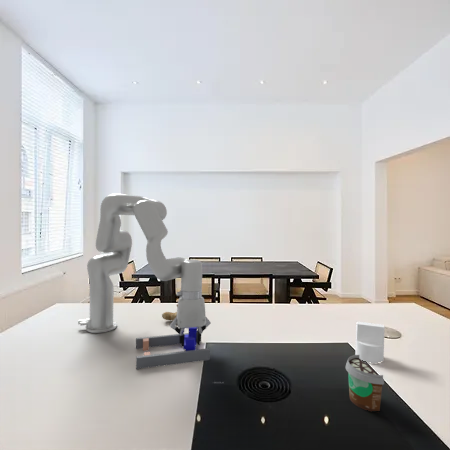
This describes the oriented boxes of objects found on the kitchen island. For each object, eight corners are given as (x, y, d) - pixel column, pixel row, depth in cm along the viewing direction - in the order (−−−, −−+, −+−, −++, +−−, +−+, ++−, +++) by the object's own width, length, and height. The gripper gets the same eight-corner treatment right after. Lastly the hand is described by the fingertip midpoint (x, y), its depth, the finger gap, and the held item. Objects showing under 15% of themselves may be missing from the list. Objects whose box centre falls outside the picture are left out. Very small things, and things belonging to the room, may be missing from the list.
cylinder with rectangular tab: (381, 354, 109) (382, 321, 109) (385, 366, 101) (386, 330, 100) (354, 350, 112) (355, 318, 112) (356, 361, 104) (357, 326, 103)
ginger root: (208, 316, 144) (205, 300, 142) (187, 334, 131) (184, 317, 130) (183, 311, 153) (180, 296, 151) (161, 327, 140) (158, 312, 138)
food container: (336, 388, 87) (337, 354, 86) (357, 387, 87) (358, 353, 87) (359, 416, 74) (360, 377, 74) (383, 415, 75) (384, 376, 75)
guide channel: (136, 369, 95) (136, 358, 95) (135, 347, 111) (135, 338, 111) (209, 359, 102) (209, 349, 102) (199, 340, 118) (199, 332, 118)
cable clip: (184, 342, 115) (185, 326, 115) (196, 342, 115) (196, 326, 115) (181, 356, 103) (181, 339, 103) (194, 356, 103) (194, 339, 103)
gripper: (168, 298, 102) (167, 351, 103) (216, 295, 107) (215, 346, 108) (166, 293, 109) (165, 342, 110) (211, 290, 114) (210, 338, 115)
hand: (190, 343), depth 109 cm, fingers closed on cable clip, 5 cm apart
